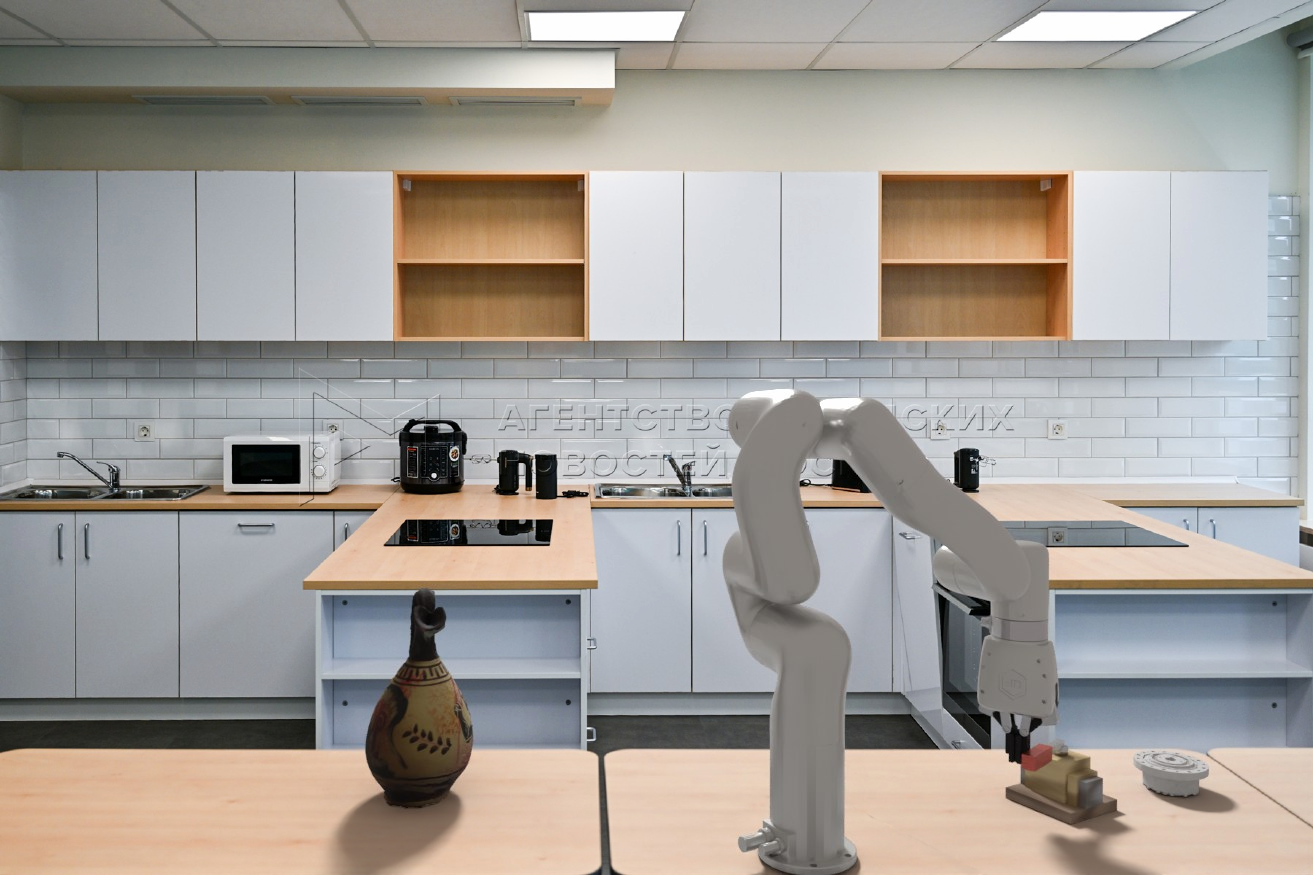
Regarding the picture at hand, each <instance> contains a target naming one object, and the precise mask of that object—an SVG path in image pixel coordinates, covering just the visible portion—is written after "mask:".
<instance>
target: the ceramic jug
mask: <svg viewBox="0 0 1313 875" xmlns="http://www.w3.org/2000/svg"><path fill="white" fill-rule="evenodd" d="M435 595H436V593H435V591H434V590H433V589H429V588H428V587H422V588H420V589H418V590H417V591H415V592H414V594H413V596H412V600H411V612H410V617H409V618H410V626H409V628H410V640H409V648H408V657H407V658H406V660H405V662H403V664H401V666H400V668H399V669H398V670H397V672H396V673H395V675H394V676H393V677H392V678H391V679H390V681H389V683H388V684H387V686H386V688H385V689H384V691H383V692H382V694H381V696H380V698H379V699H378V700H377V702H376V705H375V706H374V708H373V711H372V715H371V717H370V720H369V724H368V727H367V731H366V736H365V745H364V746H365V748H364V749H365V751H364V752H365V759H366V763H367V766H368V769H369V772H370V773H371V776H372V777H373V778H374V780H375V781H376V782H377V783H378V784H379V786H380V787H381V788H382V789H383V792H384V793H383V794H384V795H383V798H384V800H385V803H386V805H388V806H389V807H391V806H394V807H399V808H400V807H401V808H404V809H422V808H423V807H426V806H432V805H436V804H439V803H440V802H442V801H443V800H445V799H446V798H447V796H448V795H449V793H450V790H451V789H452V787H453V785H454V784H455V783H456V781H457V780H458V779H459V777H460V776H461V775H462V773H464V771H465V770H466V768H467V766H468V765H469V763H470V759H471V755H472V751H473V746H474V730H473V729H474V728H473V727H474V726H473V723H472V722H473V721H472V719H471V713H470V710H469V708H468V703H467V702H466V700H465V698H464V694H463V693H462V691H461V690H460V688H459V686H458V684H457V683H456V681H455V679H454V677H453V675H452V674H451V672H450V671H449V670H448V668H446V665H445V664H444V663H443V661H442V659H441V656H440V655H439V654H438V651H437V644H436V640H435V638H436V637H435V636H436V634H438V633H440V632H441V631H442V630H444V629H445V628H446V621H447V614H446V611H445V608H444V607H443V606H437V607H436V597H435Z"/></svg>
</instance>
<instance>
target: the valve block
mask: <svg viewBox="0 0 1313 875" xmlns="http://www.w3.org/2000/svg"><path fill="white" fill-rule="evenodd" d="M1019 779H1020V783H1015V784H1012V785H1009V786H1006V787H1005V798H1006V799H1009V800H1011V801H1013V802H1016V803H1018V804H1021V805H1022V806H1025V807H1028V808H1030V809H1032V810H1036V811H1038V812H1040V813H1043V814H1045V815H1047V816H1050V817H1052V818H1054V819H1056V820H1059V821H1062V822H1064V823H1067V824H1069V825H1073V824H1076V823H1080V822H1083V821H1086V820H1090V819H1093V818H1095V817H1099V816H1101V815H1106V814H1109V813H1112V812H1114V811H1118V799H1117V798H1114V797H1112V796H1109V795H1106V794H1104V792H1103V790H1104V778H1103V777H1100V776H1098V770H1096V769H1095V770H1094V769H1092V768H1091V756H1088V755H1085V754H1082V753H1080V752H1076V751H1074V750H1071V749H1068V755H1057V754H1052V761H1051V762H1049V763H1048V764H1046V765H1045V766H1043V767H1042V768H1040V769H1039V770H1037V771H1036V772H1033V771H1029V770H1025V769H1022V764H1020V778H1019Z"/></svg>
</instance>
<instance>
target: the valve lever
mask: <svg viewBox="0 0 1313 875" xmlns="http://www.w3.org/2000/svg"><path fill="white" fill-rule="evenodd" d="M1068 750H1069V746H1068V745H1066V744H1065V739H1061V738H1055V739H1054V740H1052V741H1051V742H1049V743H1047V744H1044V743H1038V744H1036V745H1034V746H1033V747H1030V749H1029V750H1028V751H1026V752H1024V753H1023V754H1022V769H1025V770H1029V771H1033V772H1036V771H1037V770H1039V769H1040V768H1042V767H1043V766H1045V765H1046V764H1048V763H1049V762H1051V761H1052V754H1057V755H1068Z"/></svg>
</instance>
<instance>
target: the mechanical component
mask: <svg viewBox="0 0 1313 875" xmlns="http://www.w3.org/2000/svg"><path fill="white" fill-rule="evenodd" d="M1133 766H1134V767H1135V768H1137V769H1138V770H1139V771H1141V772H1142V778H1141V779H1142V780H1141V781H1142V785H1145V786H1146V789H1147V790H1148V789H1149V790H1150V789H1151V790H1152V791H1154V792H1156V793H1158V794H1163V795H1168V796H1171V797H1174V796H1175V797H1176V796H1177V797H1179V796H1180V797H1186V798H1187V797H1188V796H1192V795H1193V796H1196V795H1197V794H1199V792H1200V780H1204V779H1206V778H1208V777H1209V774H1210V766H1209V765H1208V763H1206V762H1205V761H1203V760H1202V759H1200V758H1198V757H1195V756H1192V755H1189V754H1185V753H1181V752H1175V751H1171V750H1170V751H1169V750H1161V749H1160V750H1158V749H1157V750H1156V749H1154V750H1153V749H1149V750H1142V751H1137V752H1136V753H1134V754H1133Z"/></svg>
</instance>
